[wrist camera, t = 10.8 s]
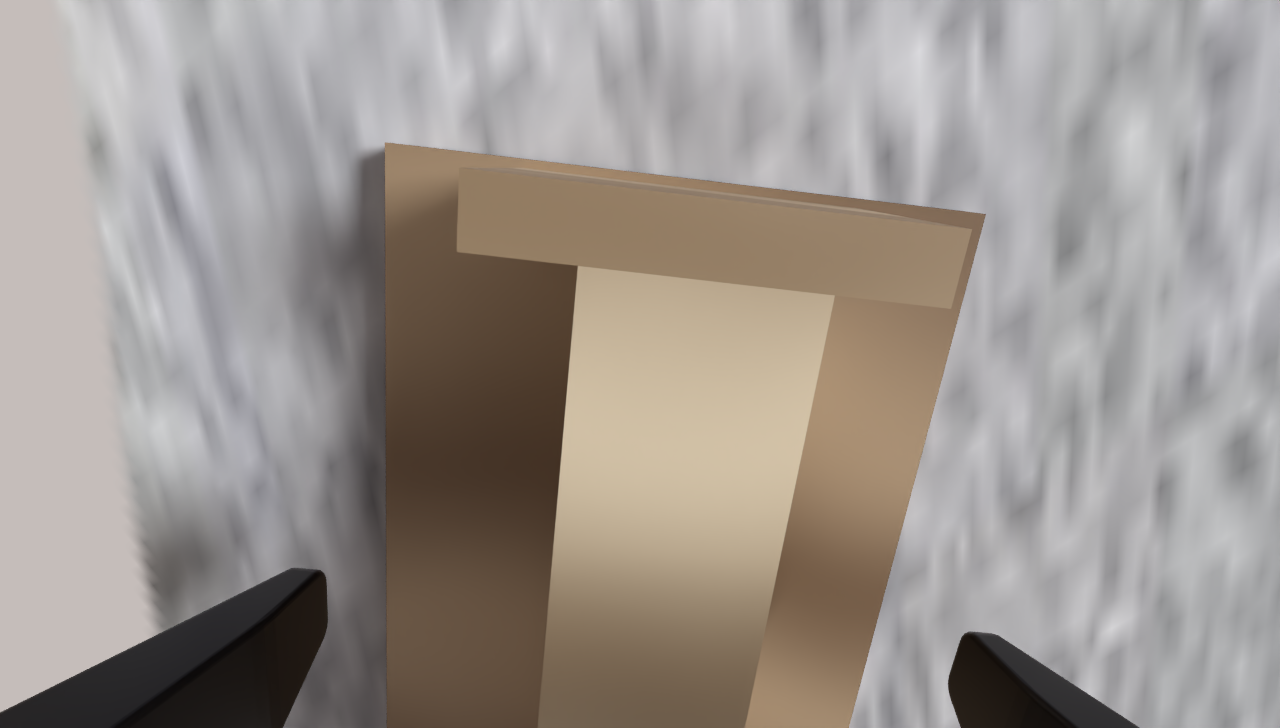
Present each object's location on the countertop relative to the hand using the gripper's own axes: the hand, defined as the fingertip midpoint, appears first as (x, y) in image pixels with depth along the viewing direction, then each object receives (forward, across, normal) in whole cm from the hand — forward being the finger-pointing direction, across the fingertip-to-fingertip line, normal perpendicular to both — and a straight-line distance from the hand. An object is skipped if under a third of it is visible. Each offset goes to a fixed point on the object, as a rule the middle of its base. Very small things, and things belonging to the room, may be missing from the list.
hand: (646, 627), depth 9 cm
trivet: (+3, 0, 0) cm, 3 cm away
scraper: (+2, 0, 0) cm, 2 cm away
